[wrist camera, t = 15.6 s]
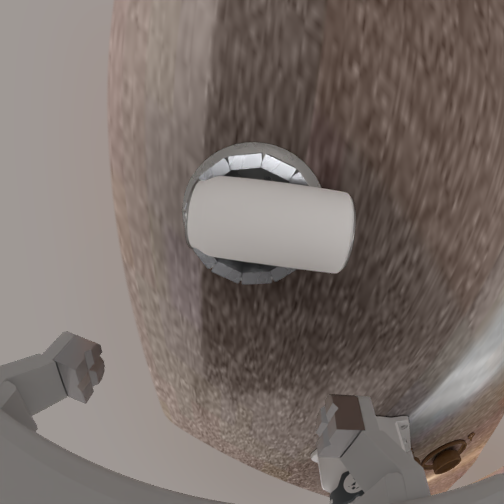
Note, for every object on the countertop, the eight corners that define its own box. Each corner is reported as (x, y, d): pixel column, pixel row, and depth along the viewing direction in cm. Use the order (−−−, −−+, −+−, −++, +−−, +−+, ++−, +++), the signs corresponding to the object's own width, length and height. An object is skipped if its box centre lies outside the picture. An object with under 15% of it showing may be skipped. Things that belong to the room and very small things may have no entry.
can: (336, 289, 23) (190, 269, 24) (335, 229, 27) (209, 212, 28) (360, 239, 18) (176, 215, 19) (352, 176, 22) (202, 157, 23)
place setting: (412, 474, 50) (416, 491, 44) (399, 448, 44) (405, 471, 39) (472, 443, 45) (479, 459, 40) (474, 409, 40) (484, 429, 34)
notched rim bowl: (350, 233, 29) (358, 244, 26) (238, 300, 33) (234, 316, 30) (272, 114, 26) (271, 110, 22) (158, 197, 29) (145, 204, 26)
